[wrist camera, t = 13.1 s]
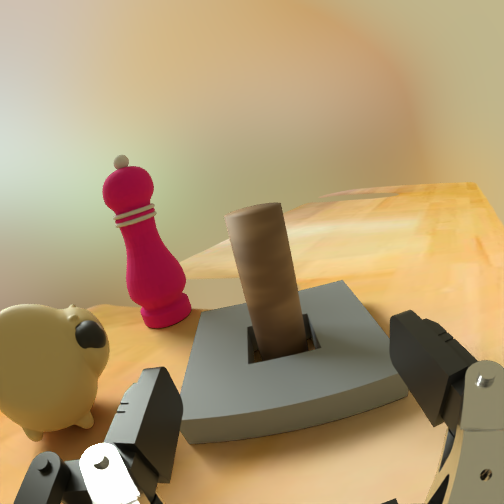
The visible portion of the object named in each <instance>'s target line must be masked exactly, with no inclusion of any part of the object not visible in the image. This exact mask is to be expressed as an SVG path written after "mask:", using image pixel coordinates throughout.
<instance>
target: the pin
mask: <svg viewBox="0 0 504 504" xmlns="http://www.w3.org/2000/svg"><path fill="white" fill-rule="evenodd" d="M224 218H225V222H226V226H227V229H228V234H229V238H230V242H231V246H232V250H233V253H234V257H235V261H236V265H237V269H238V273H239V277H240V280H241V284H242V288H243V292H244V296H245V299H246V303H247V307H248V311H249V314H250V318H251V322H252V326H253V329H254V333H255V337H256V340H257V344H258V348H259V351H260V355H261V359H262V362H263V361H268V360H272V359H277V358H282V357H286V356H290V355H295V354H299V353H303V352H307V351H308V346H307V340H306V334H305V328H304V322H303V316H302V310H301V305H300V299H299V294H298V288H297V283H296V277H295V272H294V267H293V261H292V256H291V251H290V246H289V241H288V236H287V231H286V226H285V221H284V217H283V212H282V207H281V203H266V204H259V205H254V206H250V207H246V208H242V209H239V210H236V211H233V212H230V213H228V214H226V215H225V216H224Z"/></svg>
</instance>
